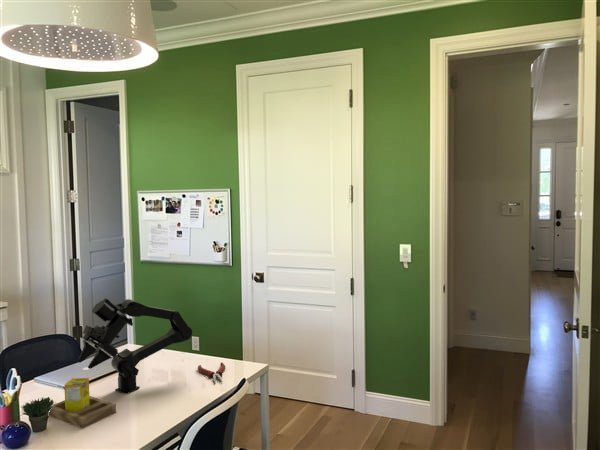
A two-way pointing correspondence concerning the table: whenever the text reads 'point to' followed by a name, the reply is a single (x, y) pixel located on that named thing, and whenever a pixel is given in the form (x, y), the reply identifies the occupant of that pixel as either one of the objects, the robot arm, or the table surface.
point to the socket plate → (84, 412)
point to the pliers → (213, 374)
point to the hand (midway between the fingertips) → (83, 365)
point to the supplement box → (77, 394)
